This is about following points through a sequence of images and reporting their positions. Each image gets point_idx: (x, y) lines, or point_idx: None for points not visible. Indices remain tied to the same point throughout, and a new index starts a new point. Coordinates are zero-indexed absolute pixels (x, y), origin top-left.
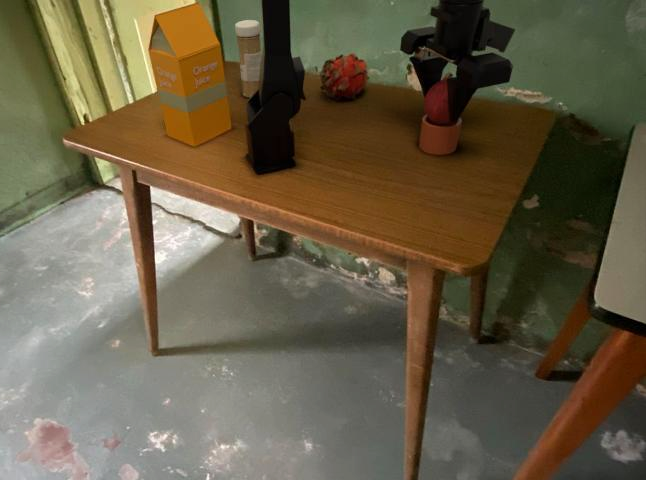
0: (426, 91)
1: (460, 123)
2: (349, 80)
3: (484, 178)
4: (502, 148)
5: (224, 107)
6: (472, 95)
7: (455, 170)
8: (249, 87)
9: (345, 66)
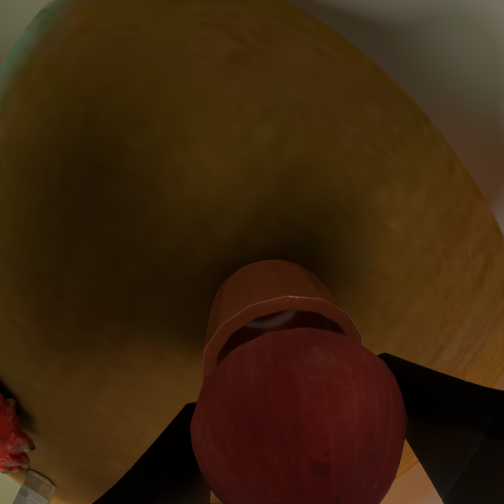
0: (209, 489)
1: (346, 313)
2: (6, 438)
3: (449, 250)
4: (330, 118)
5: None
6: (494, 391)
7: (405, 305)
8: (51, 496)
9: None
